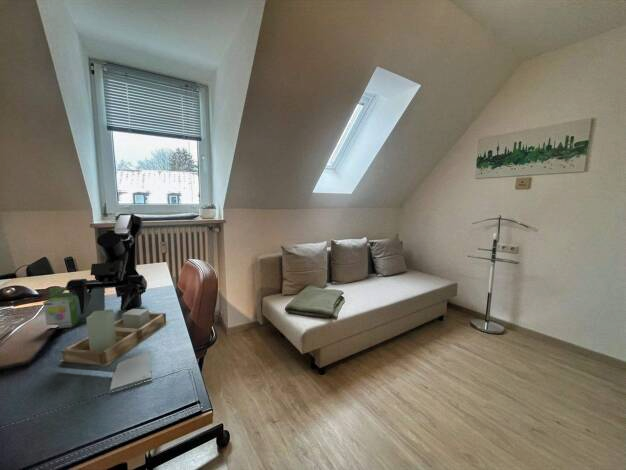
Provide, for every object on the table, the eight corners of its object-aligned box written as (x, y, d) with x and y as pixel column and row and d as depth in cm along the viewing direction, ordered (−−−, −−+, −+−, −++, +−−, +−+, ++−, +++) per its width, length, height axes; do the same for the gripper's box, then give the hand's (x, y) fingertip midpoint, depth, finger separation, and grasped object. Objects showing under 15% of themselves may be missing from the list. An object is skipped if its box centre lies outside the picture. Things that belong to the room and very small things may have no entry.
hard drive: (151, 376, 61) (151, 350, 72) (109, 389, 57) (115, 360, 67) (152, 382, 62) (151, 356, 72) (109, 396, 57) (115, 365, 68)
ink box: (46, 330, 84) (41, 292, 82) (54, 324, 88) (50, 287, 86) (71, 327, 86) (67, 290, 84) (78, 322, 90) (74, 286, 88)
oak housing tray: (132, 321, 91) (131, 311, 90) (168, 324, 89) (168, 313, 89) (60, 364, 67) (58, 350, 66) (107, 368, 66) (106, 354, 65)
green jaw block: (98, 346, 73) (94, 311, 72) (116, 344, 75) (113, 309, 73) (90, 355, 69) (86, 318, 68) (110, 352, 71) (106, 316, 69)
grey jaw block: (133, 325, 86) (132, 308, 85) (150, 326, 86) (148, 309, 85) (124, 331, 82) (122, 313, 81) (140, 332, 82) (139, 315, 81)
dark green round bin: (78, 310, 99) (75, 281, 97) (111, 306, 103) (108, 278, 102) (68, 321, 90) (64, 289, 88) (104, 316, 94) (101, 285, 93)
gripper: (65, 252, 71) (44, 305, 63) (141, 249, 77) (132, 297, 69) (83, 271, 80) (66, 320, 71) (150, 267, 86) (143, 311, 77)
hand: (102, 312), depth 72 cm, fingers open, 9 cm apart
